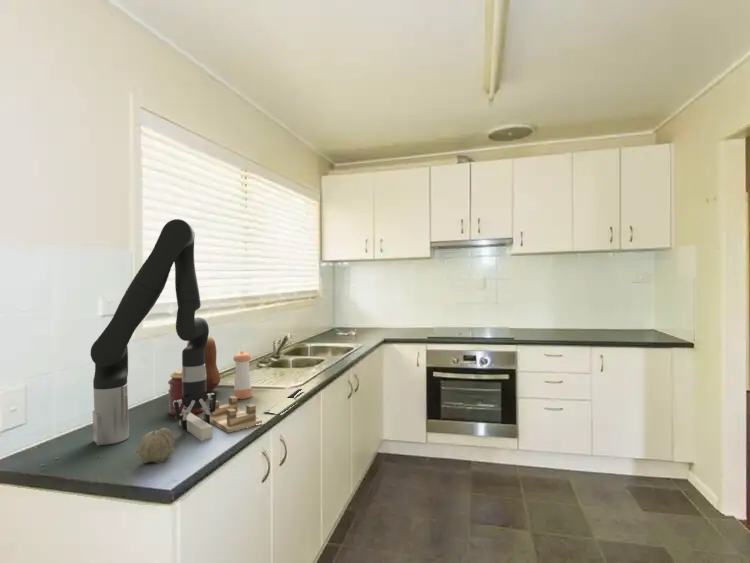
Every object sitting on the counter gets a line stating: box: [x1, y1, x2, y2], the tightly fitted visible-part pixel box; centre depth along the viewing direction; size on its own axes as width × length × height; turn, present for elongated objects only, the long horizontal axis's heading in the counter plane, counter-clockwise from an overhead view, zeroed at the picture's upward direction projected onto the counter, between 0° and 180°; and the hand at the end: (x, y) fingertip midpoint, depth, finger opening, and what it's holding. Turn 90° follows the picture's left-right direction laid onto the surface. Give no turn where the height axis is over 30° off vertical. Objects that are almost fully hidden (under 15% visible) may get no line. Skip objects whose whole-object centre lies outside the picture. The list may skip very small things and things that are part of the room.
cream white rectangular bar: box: [178, 413, 213, 441], centre depth 148 cm, size 20×4×4 cm, turn 42°
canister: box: [167, 368, 207, 416], centre depth 169 cm, size 13×13×18 cm
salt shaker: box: [233, 350, 253, 400], centre depth 188 cm, size 7×7×19 cm
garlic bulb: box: [134, 427, 175, 464], centre depth 125 cm, size 9×8×10 cm
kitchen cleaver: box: [262, 388, 303, 416], centre depth 179 cm, size 31×2×10 cm
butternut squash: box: [186, 335, 221, 394], centre depth 193 cm, size 14×13×25 cm
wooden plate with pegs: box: [210, 395, 263, 434], centre depth 156 cm, size 20×12×6 cm, turn 42°
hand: (195, 428), depth 148 cm, fingers open, 6 cm apart
